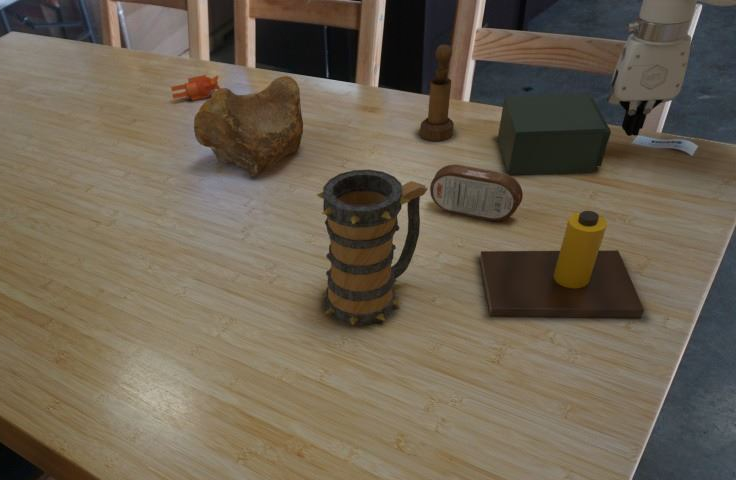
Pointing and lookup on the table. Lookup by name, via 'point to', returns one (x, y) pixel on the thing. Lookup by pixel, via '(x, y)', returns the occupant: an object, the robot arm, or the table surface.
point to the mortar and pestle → (439, 101)
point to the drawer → (605, 138)
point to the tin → (476, 192)
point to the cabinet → (550, 134)
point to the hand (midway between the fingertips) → (630, 132)
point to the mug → (366, 242)
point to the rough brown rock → (252, 125)
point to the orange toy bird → (197, 87)
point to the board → (556, 286)
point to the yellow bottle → (579, 249)
